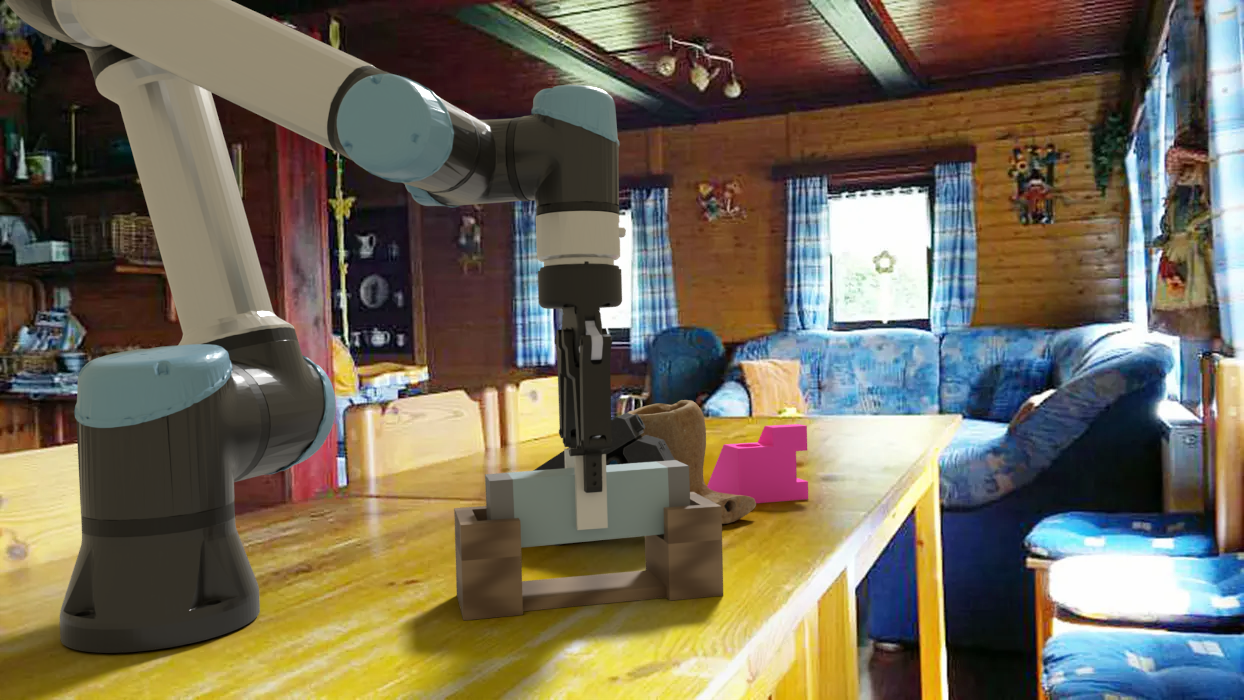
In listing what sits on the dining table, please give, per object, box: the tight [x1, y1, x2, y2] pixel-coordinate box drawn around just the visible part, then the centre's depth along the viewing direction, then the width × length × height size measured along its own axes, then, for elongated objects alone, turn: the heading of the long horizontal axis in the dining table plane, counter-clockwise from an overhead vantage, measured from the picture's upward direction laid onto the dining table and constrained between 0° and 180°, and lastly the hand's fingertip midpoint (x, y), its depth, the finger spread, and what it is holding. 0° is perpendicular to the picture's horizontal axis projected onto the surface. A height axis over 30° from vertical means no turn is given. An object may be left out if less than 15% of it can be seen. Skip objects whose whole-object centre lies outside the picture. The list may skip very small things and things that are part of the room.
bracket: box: [706, 423, 809, 504], centre depth 135 cm, size 12×10×10 cm
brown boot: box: [627, 399, 757, 525], centre depth 118 cm, size 15×12×15 cm
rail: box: [484, 460, 690, 549], centre depth 85 cm, size 18×4×6 cm, turn 104°
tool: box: [532, 412, 675, 547], centre depth 107 cm, size 6×19×15 cm, turn 78°
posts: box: [453, 492, 724, 621], centre depth 85 cm, size 23×8×8 cm, turn 104°
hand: (586, 522), depth 85 cm, fingers closed on rail, 4 cm apart
